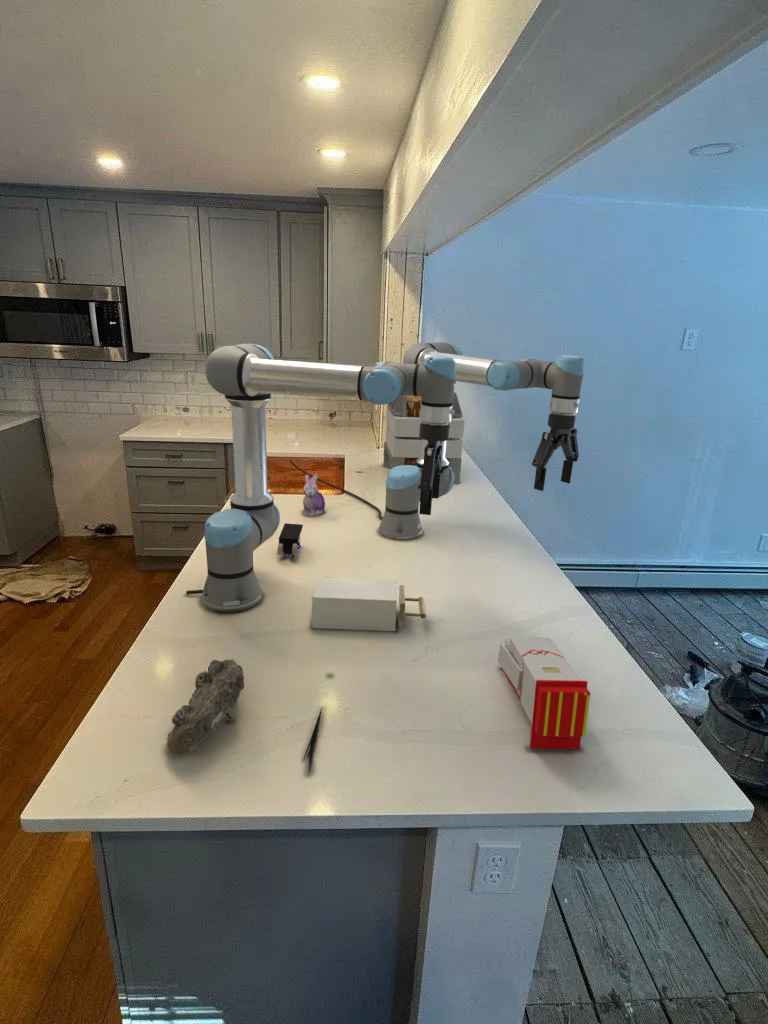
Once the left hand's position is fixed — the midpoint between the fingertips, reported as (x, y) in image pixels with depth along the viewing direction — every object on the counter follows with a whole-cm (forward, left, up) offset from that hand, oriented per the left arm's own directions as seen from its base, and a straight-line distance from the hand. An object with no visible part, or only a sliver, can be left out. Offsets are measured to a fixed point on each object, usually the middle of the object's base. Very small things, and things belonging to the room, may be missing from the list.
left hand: (429, 505), depth 144 cm
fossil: (-31, -56, -28) cm, 70 cm away
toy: (+29, -34, -28) cm, 53 cm away
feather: (-11, -51, -28) cm, 60 cm away
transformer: (-23, +127, -28) cm, 132 cm away
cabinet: (-15, -13, -28) cm, 34 cm away
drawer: (-10, -12, -27) cm, 31 cm away
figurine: (-52, +57, -28) cm, 82 cm away
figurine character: (-46, +19, -28) cm, 57 cm away
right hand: (+32, +30, 0) cm, 44 cm away
